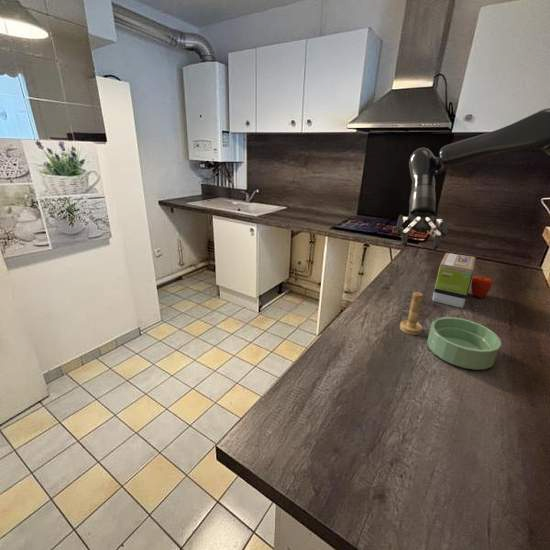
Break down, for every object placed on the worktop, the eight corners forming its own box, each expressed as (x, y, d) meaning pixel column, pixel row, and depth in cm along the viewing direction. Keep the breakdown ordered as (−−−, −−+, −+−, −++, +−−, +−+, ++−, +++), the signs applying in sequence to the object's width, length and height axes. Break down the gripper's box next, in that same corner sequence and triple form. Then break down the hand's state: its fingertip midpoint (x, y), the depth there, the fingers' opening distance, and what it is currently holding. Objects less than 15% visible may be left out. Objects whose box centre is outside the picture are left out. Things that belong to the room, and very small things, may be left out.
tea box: (437, 286, 116) (446, 251, 110) (466, 293, 111) (477, 256, 105) (431, 301, 105) (440, 262, 99) (463, 309, 99) (475, 269, 94)
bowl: (453, 330, 88) (458, 312, 85) (508, 362, 74) (515, 342, 72) (414, 341, 82) (418, 323, 80) (465, 378, 69) (472, 357, 67)
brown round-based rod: (410, 322, 92) (417, 288, 87) (425, 332, 86) (434, 296, 82) (395, 326, 90) (402, 291, 85) (410, 336, 84) (418, 300, 80)
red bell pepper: (465, 291, 112) (470, 273, 109) (483, 292, 111) (488, 274, 108) (471, 298, 107) (477, 280, 104) (490, 300, 106) (496, 281, 103)
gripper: (401, 194, 93) (397, 239, 87) (450, 196, 89) (450, 243, 84) (396, 208, 99) (393, 250, 94) (442, 211, 96) (441, 254, 90)
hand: (420, 247), depth 89 cm, fingers open, 8 cm apart
